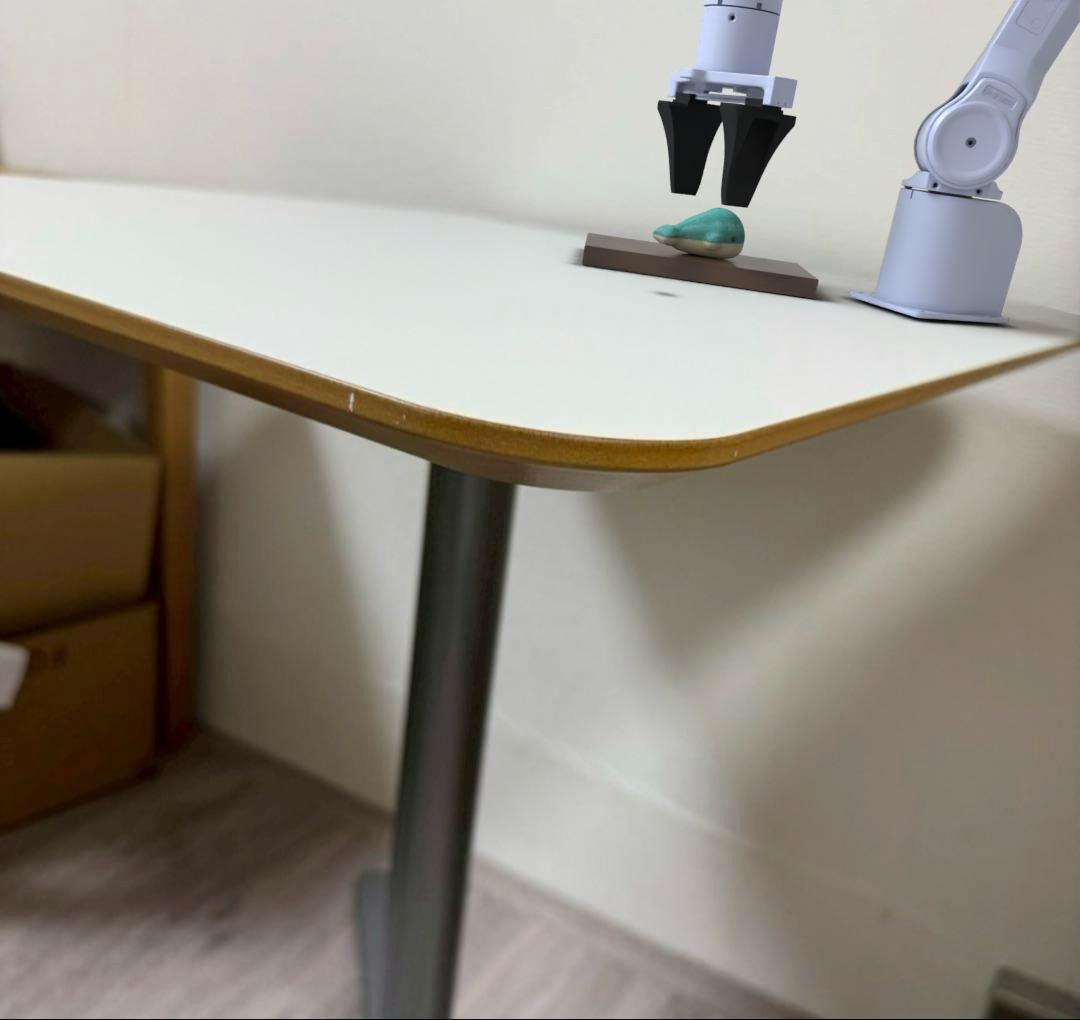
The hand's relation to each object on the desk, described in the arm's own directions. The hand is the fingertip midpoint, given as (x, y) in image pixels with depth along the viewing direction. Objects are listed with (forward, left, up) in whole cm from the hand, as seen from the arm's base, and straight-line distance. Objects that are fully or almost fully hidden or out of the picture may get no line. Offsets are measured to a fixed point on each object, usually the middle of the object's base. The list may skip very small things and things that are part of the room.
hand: (707, 200), depth 84 cm
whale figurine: (0, 0, -5) cm, 5 cm away
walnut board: (0, 0, -6) cm, 6 cm away
